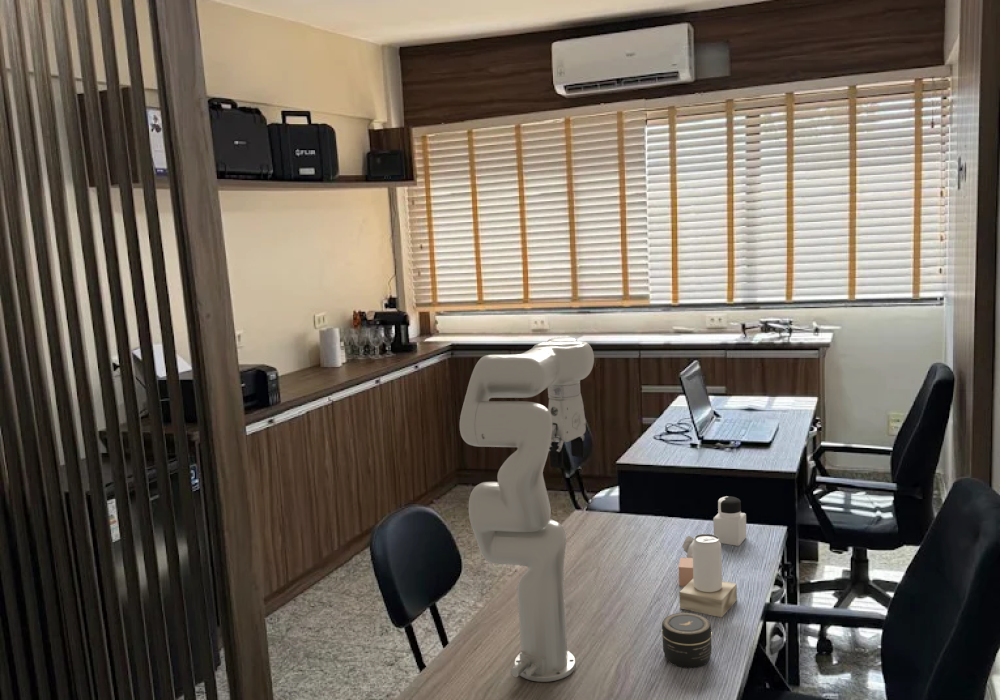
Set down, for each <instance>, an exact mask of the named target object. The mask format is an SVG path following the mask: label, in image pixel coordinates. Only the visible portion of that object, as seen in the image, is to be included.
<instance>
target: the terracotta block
mask: <svg viewBox="0 0 1000 700" xmlns="http://www.w3.org/2000/svg"><path fill="white" fill-rule="evenodd" d="M692 579H693V558H687V557H680V558H679V563H678V585H679V587H685V586H686V585H687V584H688V583H689V582H690V581H691V580H692Z"/></svg>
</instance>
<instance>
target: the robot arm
mask: <svg viewBox="0 0 1000 700" xmlns="http://www.w3.org/2000/svg"><path fill="white" fill-rule="evenodd" d="M594 363H595V355H594V351H593V348H592V347H591V345H590V344H589V343H588V342H587V341H578V340H577V339H576V338H575V337H570V336H561V337H560V336H559V337H552V338H549V339H548V340H547V341H545V342H544V341H541V342H538V343H536V344H535V345H534V346H533V347H532V348H531V349H529V350H526V351H524V352H522V353H517V354H488V355H487V354H486V355H483V356H482V357H481V358H480V359H479V360H478V361H477V363H476V364H475V366H474V368H473V370H472V372H471V375H470V379H469V382H468V386H467V388H466V389H467V390H466V394H465V396H464V401H463V405H462V408H461V412H460V415H459V418H460V419H459V431H460V432H459V433H460V436H461V438H462V440H463V441H464V442H465V443H466V444H467V445H469V446H471V447H472V446H473V447H481V448H483V447H484V448H485V447H486V448H488V447H489V448H490V447H491V448H495V447H496V448H517V449H516V450H515V451H514V452H513V453H511V454H510V455H509V456H508V457H507V458H506V460H504V462H503V463H502V465H501V466H500V468H499V469H498V472H497V475H496V476H497V481H483V482H481V483H479V484H477V485H475V486H474V488H473V489H472V491H471V493H470V495H469V499H468V500H469V501H468V516H469V517H468V518H469V521H470V522H469V523H470V526H471V529H472V531H473V534H474V537H475V539H476V540H475V541H476V543H477V546H478V547H479V551H480V554H481V555H482V557H483V558H484V560H485V561H486V562H488V563H491V564H497V565H506V566H508V565H509V566H521V567H527V568H528V569H526V571H525V572H524V573H523V575H522V576H521V577H520V578H519V581H518V584H517V591H516V592H517V605H518V620H519V622H518V624H519V639H520V652H519V654H517V656H516V657H515V659H514V663H513V664H514V665H513V667H512V668H510V674H511V676H512V677H514V678H518V677H519V676H520V677H522V678H523V679H526V680H529V681H534V682H539V683H540V682H541V683H545V682H546V683H547V682H548V683H550V682H556V681H558V680H562V679H564V678H566V677H568V676H570V675H571V674H572V673H573V672H574V670H575V669H576V658H575V656H574V654H573V653H571V652H570V651H569V650H568V641H567V640H568V637H567V621H566V620H567V618H566V599H565V577H564V576H565V573H564V571H565V569H564V567H565V555H566V548H567V546H566V545H567V534H566V530H565V528H564V526H563V525H562V524H561V523H560V522H558V521H556V520H554V519H552V518H551V516H552V515H551V513H552V511H551V505H550V498H549V496H548V495H549V494H548V492H547V488H546V487H547V486H546V481H545V478H544V473H543V472H544V468H545V465H546V462H547V459H548V456H549V461H550V462H549V463H550V467H551V468H556V469H563V468H564V451H563V450H562V448H563V445H564V442H566V443H568V442H570V450H571V456H572V457H576V458H577V457H578V458H584V457H585V443H584V441H585V433H586V431H587V430H586V425H587V419H586V416H585V409H584V407H585V406H584V402H583V397H582V393H581V380H584V379H586V378H587V377H588V376H589V375H590V374H591V372H592V370H593V367H594ZM546 389H547V394H548V395H547V397H548V406H547V407H546V406H545V405H543V404H541V403H538V402H534V401H521V400H520V401H519V400H510V401H509V400H508V401H507V400H501V401H497V400H496V401H495V400H494V401H493V400H492V401H491V400H490V399H492V398H494V399H495V398H496V399H497V398H498V399H499V398H503V399H504V398H505V399H507V398H514V399H516V398H517V399H518V398H519V399H520V398H523V399H524V398H525V399H526V398H533V397H535V396H538V395H539V394H540V393H542V392H543V391H544V390H546Z"/></svg>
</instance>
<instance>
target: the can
mask: <svg viewBox="0 0 1000 700" xmlns="http://www.w3.org/2000/svg"><path fill="white" fill-rule="evenodd" d="M693 539H694V542H693V581H694V587H695V588H696V589H697V590H698V591H701V592H705V593H713V592H717V591H719V590H720V589H721V588H722V581H723V568H722V567H723V566H722V564H723V563H722V561H723V560H722V543H720V542H719V537H717V536H715V535H714V534H711V533H700V534H697V535H695V536H694V537H693Z"/></svg>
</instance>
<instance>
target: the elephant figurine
mask: <svg viewBox="0 0 1000 700" xmlns="http://www.w3.org/2000/svg"><path fill="white" fill-rule="evenodd" d="M693 542H694V537H692V536H691V535H687V536H686V538H685V540H684V541H683V544H682V549H683V551H684V552H685V553H686V558H693Z"/></svg>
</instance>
